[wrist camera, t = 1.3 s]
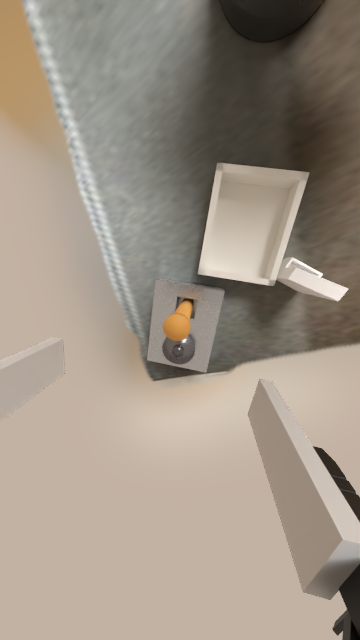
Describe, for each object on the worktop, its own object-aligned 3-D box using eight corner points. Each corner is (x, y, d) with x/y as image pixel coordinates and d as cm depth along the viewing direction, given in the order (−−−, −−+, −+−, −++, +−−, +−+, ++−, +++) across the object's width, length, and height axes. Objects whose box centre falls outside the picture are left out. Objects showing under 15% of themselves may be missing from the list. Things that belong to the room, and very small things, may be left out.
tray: (215, 175, 28) (217, 162, 25) (296, 184, 27) (309, 172, 24) (198, 273, 33) (197, 274, 30) (266, 284, 32) (274, 286, 29)
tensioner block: (162, 278, 34) (151, 280, 27) (221, 288, 33) (226, 293, 26) (153, 349, 39) (142, 367, 32) (205, 359, 38) (206, 380, 31)
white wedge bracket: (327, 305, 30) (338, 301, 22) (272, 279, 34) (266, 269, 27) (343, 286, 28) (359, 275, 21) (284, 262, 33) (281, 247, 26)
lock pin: (181, 294, 34) (164, 312, 20) (197, 297, 34) (192, 317, 19) (178, 310, 35) (161, 338, 21) (194, 312, 35) (187, 343, 20)
